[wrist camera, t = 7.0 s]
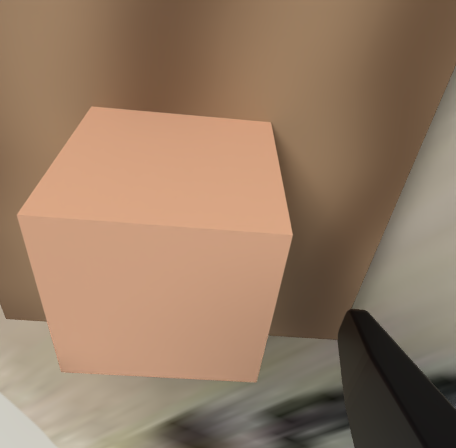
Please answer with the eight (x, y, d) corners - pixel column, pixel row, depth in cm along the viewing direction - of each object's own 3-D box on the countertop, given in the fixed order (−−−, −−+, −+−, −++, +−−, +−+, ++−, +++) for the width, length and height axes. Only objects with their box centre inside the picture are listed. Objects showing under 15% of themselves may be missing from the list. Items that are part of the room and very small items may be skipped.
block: (270, 122, 11) (292, 235, 8) (248, 253, 15) (256, 382, 11) (91, 106, 11) (16, 214, 7) (107, 243, 14) (61, 372, 10)
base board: (453, -54, 11) (503, -45, 9) (326, 296, 20) (337, 339, 18) (-84, -119, 10) (-158, -125, 8) (29, 275, 19) (5, 318, 17)
